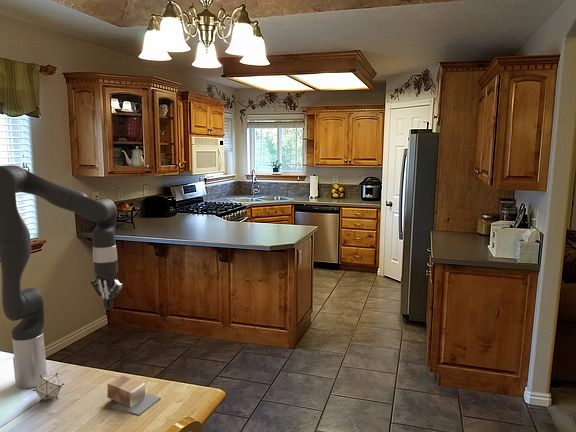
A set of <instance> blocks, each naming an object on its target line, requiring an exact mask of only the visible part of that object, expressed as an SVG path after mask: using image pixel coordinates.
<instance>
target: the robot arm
mask: <svg viewBox="0 0 576 432" xmlns="http://www.w3.org/2000/svg"><path fill="white" fill-rule="evenodd" d="M18 193H24V194H29V195H34V196H37V197H40V198H42V199H44V200H45V201H46V202H47V203H50V204H51V205H53V206H56V207H57V208H60V209H63V210H66V211H70V212H73V213H75V214H78V216H80V217H82V218H84V219H86V220H88V221H92V222H94V223H95V222H96V223H95V228H94V229H93V230H92V235H91V236H92V237H91V238H92V259H93V260H92V261H93V263H92V264H93V273H94V275H95V279H93V280H91V282H90V284H91V285H92V287H93V289H94V291H95V292H96V293H97V295H98V297H101V298H102V299H103V307H104V309H105V310H108V311H109V310H111V309H113V307H114V298H115V297H118V296H119V294H120V292H121V290H122V289H123V287H124V283H122V282H121V283H120V281H119V278H118V275H117V274H118V272H119V264H118V263H119V262H118V250H117V243H116V233H115V232H116V225H117V219H118V218H117V217H118V209H117V206H116V204H115V203H114V201H113V200H111V199H109V198H102V199H93V198H91V197H88V195H87V194H86V193H84V192H82V191H79V190H76V189H73V188H71V187H67V186H64V185H61V184H58V183H56V182H54V181H53V182H52V181H50V180H48V179H45V178H43V177H41V176H39V175H37V174H35V173H33V172H31V171H29V170H28V169H25V168H23V167H21V166H19V165H15V164H11V165H10V164H9V165H7V164H5V165H0V267H1V269H0V271H1V296H2V297H1V303H2V311H3V313H4V315H5V317H6V318H7V320H10V321H12V322H16V321H19V320H20V322H19V323H18V324H17V325H15V326H14V327H13V328H12V330H11V340H12V349H13V357H12V361H13V369H14V370H13V372H14V380H15V382H14V383H15V384H16V386H17V387H18V388H20V389H32V388H36V387H37V385H38V383H39V381H40V379H41V377H40V375H41V376H42V377H44V376H48V371H47V361H46V360H47V358H46V350H45V349H46V348H45V337H44V326H45V303H44V297H43V295H42V293H41V291H40V290H39V289H38V288H36V287H27V288H24V289H21V284H22V283H21V282H22V281H21V280H22V277H23V274H24V270H25V268H26V267H27V265H28V262H29V260H30V257H31V255H32V241H31V233H30V231H29V228H28V226H27V224H26V222H25V221H24V219H23V217H22V216H21V214H20V212H19V210H18V205H17V196H16V195H17V194H18Z"/></svg>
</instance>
